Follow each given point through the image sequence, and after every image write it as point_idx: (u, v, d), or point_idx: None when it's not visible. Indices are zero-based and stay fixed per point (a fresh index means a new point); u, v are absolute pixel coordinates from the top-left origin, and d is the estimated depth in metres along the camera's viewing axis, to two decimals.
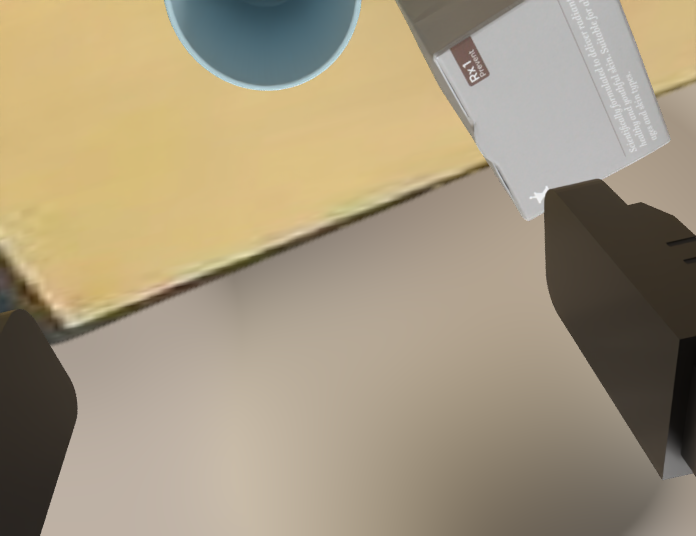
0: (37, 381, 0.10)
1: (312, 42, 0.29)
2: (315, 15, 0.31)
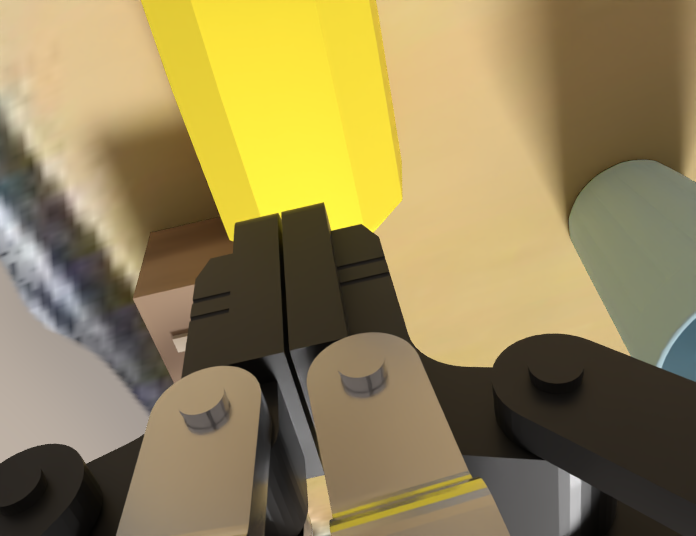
0: None
1: None
2: None
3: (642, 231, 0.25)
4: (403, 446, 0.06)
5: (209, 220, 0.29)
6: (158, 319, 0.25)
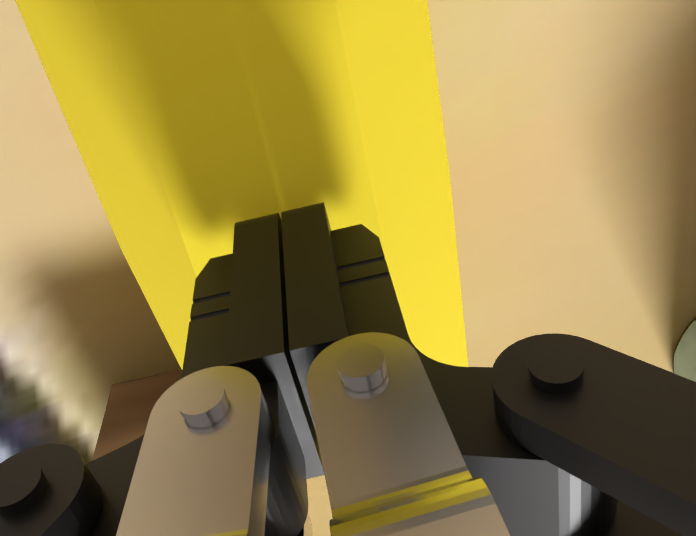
0: None
1: None
2: None
3: None
4: (403, 446, 0.06)
5: None
6: None
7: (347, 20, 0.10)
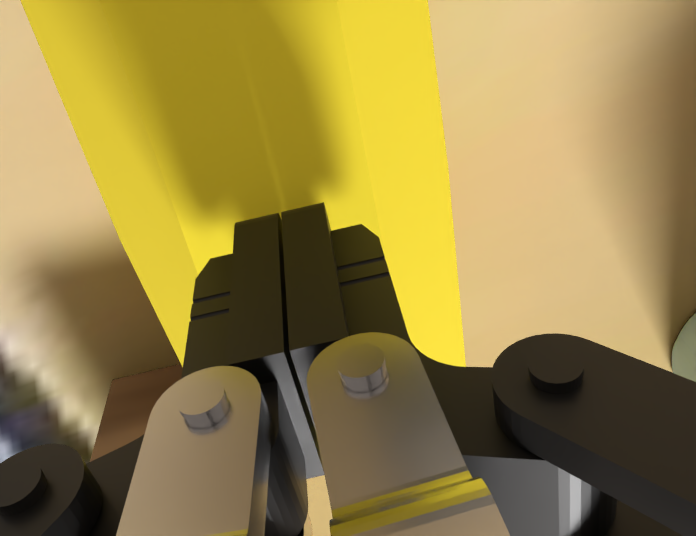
0: None
1: None
2: None
3: None
4: (403, 446, 0.06)
5: None
6: None
7: (348, 15, 0.10)
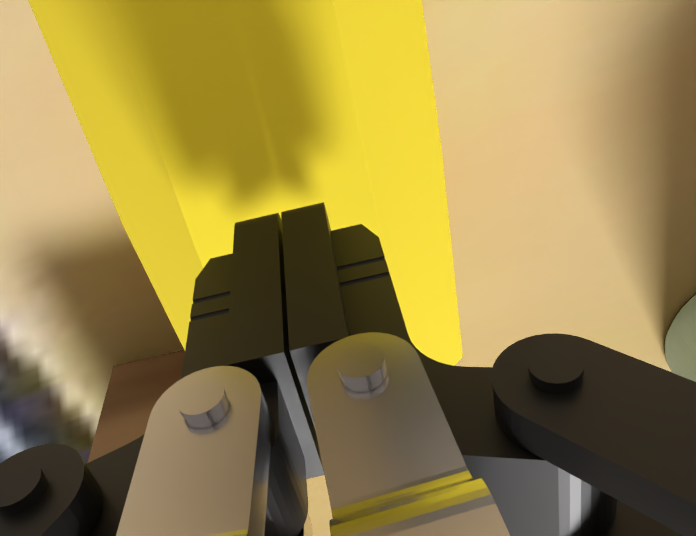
0: None
1: None
2: None
3: None
4: (403, 446, 0.06)
5: None
6: None
7: (341, 2, 0.10)
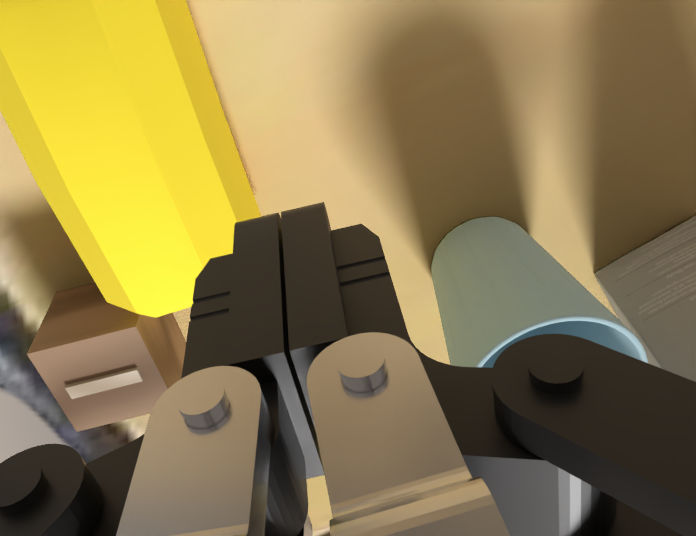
0: None
1: None
2: None
3: (466, 285, 0.29)
4: (403, 446, 0.06)
5: None
6: (51, 371, 0.29)
7: (122, 66, 0.22)
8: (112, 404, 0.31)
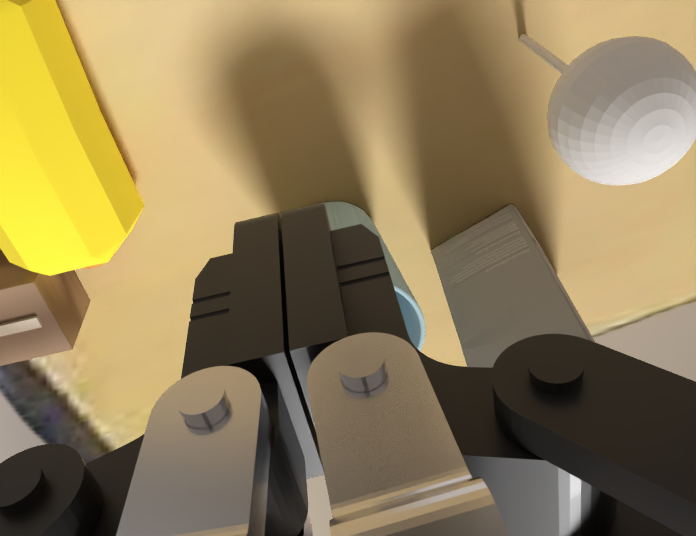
0: None
1: None
2: None
3: None
4: (403, 446, 0.06)
5: None
6: None
7: (4, 80, 0.29)
8: (19, 345, 0.38)
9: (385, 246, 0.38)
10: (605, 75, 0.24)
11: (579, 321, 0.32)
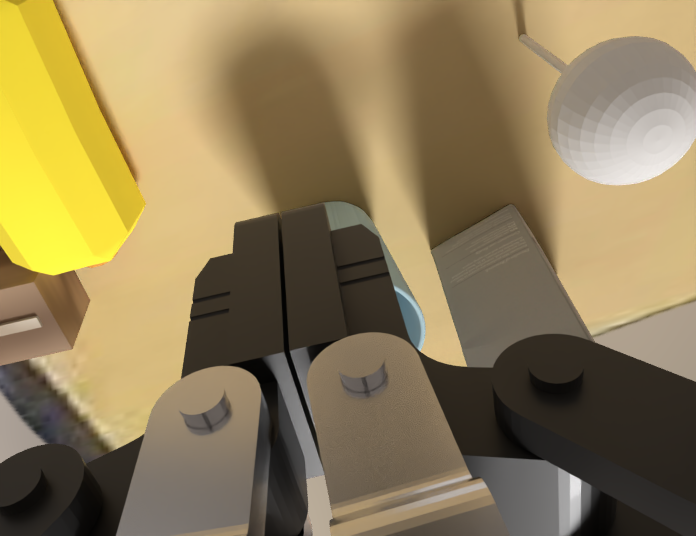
0: None
1: None
2: None
3: None
4: (402, 446, 0.06)
5: None
6: None
7: (2, 80, 0.29)
8: (18, 345, 0.38)
9: (385, 246, 0.38)
10: (604, 75, 0.24)
11: (579, 321, 0.32)
